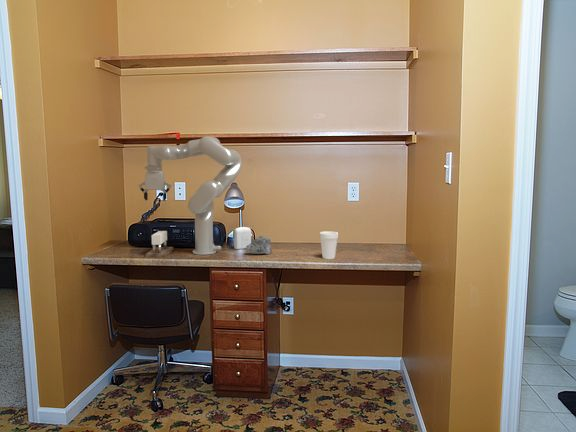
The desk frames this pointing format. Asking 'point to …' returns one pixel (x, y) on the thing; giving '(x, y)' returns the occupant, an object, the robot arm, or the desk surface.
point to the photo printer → (242, 237)
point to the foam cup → (328, 244)
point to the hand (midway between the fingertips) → (155, 200)
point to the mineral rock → (260, 246)
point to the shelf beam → (159, 237)
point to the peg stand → (159, 251)
